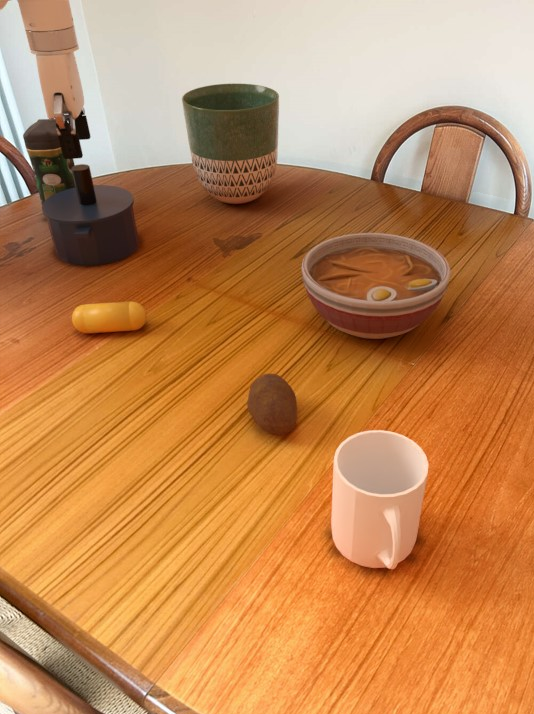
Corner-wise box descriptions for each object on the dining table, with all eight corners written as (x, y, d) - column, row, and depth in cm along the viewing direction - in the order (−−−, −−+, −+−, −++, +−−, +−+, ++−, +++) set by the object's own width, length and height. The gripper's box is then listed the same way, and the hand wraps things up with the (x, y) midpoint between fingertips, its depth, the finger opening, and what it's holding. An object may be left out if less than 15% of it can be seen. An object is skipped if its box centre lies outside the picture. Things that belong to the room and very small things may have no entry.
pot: (46, 275, 119) (34, 231, 114) (65, 225, 135) (55, 185, 130) (133, 270, 120) (125, 227, 115) (142, 221, 137) (135, 181, 131)
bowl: (454, 360, 98) (464, 302, 92) (302, 361, 98) (302, 303, 92) (430, 283, 116) (437, 231, 110) (301, 284, 116) (300, 232, 110)
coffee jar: (51, 204, 144) (29, 115, 132) (88, 203, 144) (68, 115, 132) (40, 223, 136) (15, 131, 124) (79, 222, 137) (57, 130, 125)
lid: (35, 229, 116) (23, 187, 111) (52, 193, 129) (41, 153, 124) (130, 224, 117) (122, 182, 112) (137, 188, 130) (131, 149, 125)
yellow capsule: (73, 340, 103) (66, 315, 100) (77, 324, 107) (71, 299, 104) (147, 335, 104) (143, 310, 101) (149, 319, 108) (145, 295, 105)
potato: (259, 449, 84) (256, 412, 80) (240, 403, 91) (236, 367, 87) (307, 438, 85) (308, 401, 81) (285, 393, 93) (284, 357, 89)
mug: (388, 493, 78) (397, 420, 70) (445, 570, 69) (462, 496, 62) (316, 519, 75) (317, 445, 67) (367, 603, 66) (375, 529, 59)
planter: (292, 187, 150) (291, 87, 137) (263, 222, 136) (259, 114, 122) (214, 178, 155) (205, 80, 141) (178, 211, 141) (164, 105, 127)
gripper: (39, 30, 111) (64, 133, 122) (16, 53, 98) (47, 167, 109) (84, 28, 112) (105, 131, 123) (67, 51, 99) (92, 164, 110)
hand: (77, 148), depth 116 cm, fingers open, 9 cm apart
